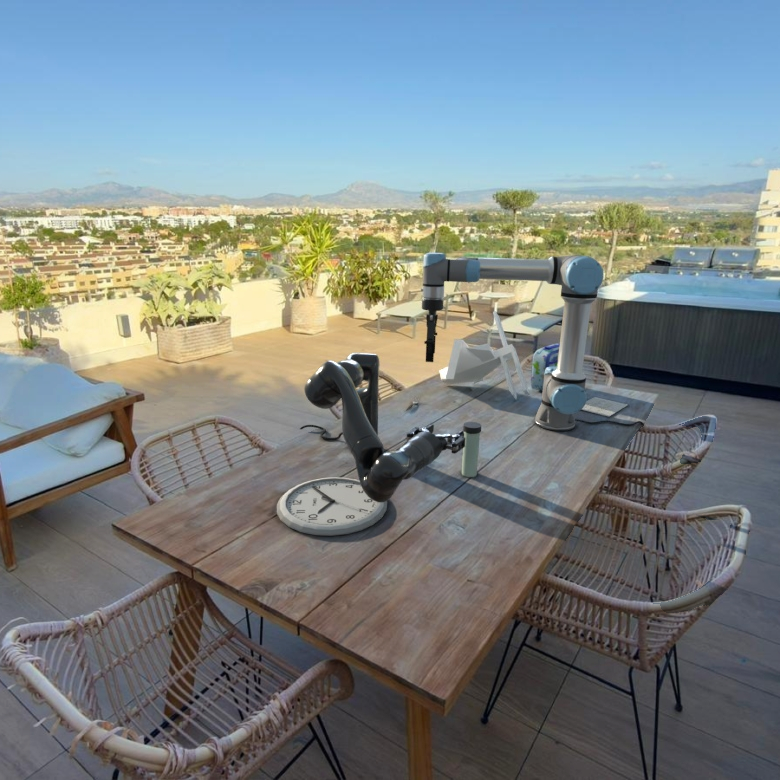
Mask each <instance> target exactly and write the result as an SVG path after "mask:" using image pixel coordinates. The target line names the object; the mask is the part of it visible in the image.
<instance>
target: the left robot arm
mask: <svg viewBox="0 0 780 780" xmlns="http://www.w3.org/2000/svg"><path fill="white" fill-rule="evenodd" d="M380 362H381V361H380V358H379V356H378V354H376V353H364V352H363V353H361V352H353V353H350V354H349V355H347V356H346V357H345V358H344V359H342V360H339V361H337V362H336V361H334V360H327V361H325V362H324V363H323V364H322V365H320V366H319V367H318V369H317V370H316V371H315V372H314V373H313V374H312V375H311V376H310V377H309V378H307V380H306V382H305V384H304V388H303V389H304V394H305V397H306V399H307V400H308V401H309V402H310V403H311V404H312V405H313V406H314V407H317V408H319V409H323V410H326V409H327V410H328V409H331V408H333V407H334V406H336V404H337V403H338V402H339V401H340V400H341V406H342V407H341V408H342V413H341V414H342V415H341V417H342V418H341V429H342V430H341V431H342V432H340V433H339V434H338V436H335V437H327V436H323V435H325V433H326V432H327V430H326V428H324V427H322V426H319V425H315V424H306V425H303V426H301V427H299V430H303V429H305V428H316V429H318V430H322V432H321V433H320V434H319V437H320V438H321V439H323V440H325V441H336V440H340V438H341V437H342V436H343V440H344V442H345V444H346V446H347V448H348V449H349V452H350V454H351V455H352V457H353V459H354V461H355V469H356V472H357V475H358V480H360V484H361V487H362V489H363V491H364V492H365V494H366V495H367V496H368V497H369V498H370V499H372V500H373V501H376V502H386V501H387V502H388V501H389V500H390V499H391V498H392V497H393V496H394V494H395V492H396V491H397V489H398V488H399V486H400V485H401V483H402V482H403V481H406V480H408V479H411V478H413V477H414V476H415V475H416V474H417V473H419V472H420V471H422V470H424V469H425V468H427V467H428V466H429V465H430V464H431V463H433V462H434V461H435V460H436V459H437V458H438V457H439V456H440V455H441V453H442V451H447V450H450V451H451V454H453V455H455V454H457V453H458V452H460V451H462V450H463V448H464V447H465V437H464V431H463V429H462V430H459V431H458V432H456V433H455V434H450V433H443V434H436V433H434V430H435V429H434V428H435V425H434V424H432V423H430V424H429V425H426V426H424V427H421V428H420V427H419V426H414V427H413V428H412V429H410V430H409V431H408V432H406V441H405V442H403V444H402V445H401V446H399V447H398V448H397V449H394V450H390V451H386V452H384V451H385V450H384V444H383V442H382V440H381V439H380V437H379V383H380V382H379V381H380V380H379V379H380V378H379V377H380V366H381V364H380ZM362 382H367V385H365V386H362V387H360V388H359V386H360V385H361V384H362Z"/></svg>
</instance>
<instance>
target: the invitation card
mask: <svg viewBox="0 0 780 780" xmlns="http://www.w3.org/2000/svg"><path fill="white" fill-rule="evenodd" d="M628 406H629V404H627V403H623V402H618V401H614V400H609V399H605V398H601V397H596V396H593V397H592V398H590V399H587V401H586V404H585V406H584V407H583V408H582V409H581V410H580V411H584V412H587V413H593V414H596V415H600V416H604V417H608V418H609V417H611V416H613V415H614V414H616V413H617V412H619V411H621V410H623V409H624V408H626V407H628Z"/></svg>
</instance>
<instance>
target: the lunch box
mask: <svg viewBox="0 0 780 780" xmlns="http://www.w3.org/2000/svg"><path fill="white" fill-rule="evenodd" d="M559 346H560V343H553V344H550V345H547V346H546V345H545V346H544V347H541V348H538V349H537V350H536V351H535V352H534V354H533V357H532V362H531V371H530V372H531V374H530V387H531V389H533V390H539V391H543V382H544V373H545V369H546V368H547V367H553V366H557V364H558V355H559Z"/></svg>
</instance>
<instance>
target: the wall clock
mask: <svg viewBox="0 0 780 780" xmlns="http://www.w3.org/2000/svg"><path fill="white" fill-rule="evenodd" d="M387 509H388V501H386V502H376V501H373V500H372V499H370V498H369V497H368V496H367V495H366V494H365V492H364V491H363V489H362V487H361V484H360V480H359V479H355V478H349V477H338V476H337V477H335V476H333V477H332V476H331V477H322V478H317V479H312V480H307V481H305V482H302V483H299V484H297V485H295V486H293V487H292V488H290V489H288V490H287V491H286V492H285V493H284V494H283V495H281V496H280V498H279V499H278V502H277V503H276V515H277V517H278V518H279V520H280V521H281V522H282V523H283V524H285V525H286V526H287V527H288V528H290V529H293V530H295V531H297V532H299V533H303V534H308V535H312V536H327V537H328V536H329V537H331V536H332V537H333V536H342V535H350V534H352V533H356V532H361V531H363V530H366V529H368V528H369V527H372V526H373V525H375V524H376V523H378V522H379V521H380V520H381V519H382V518H383V517H384V516H385V514H386V512H387Z"/></svg>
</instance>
